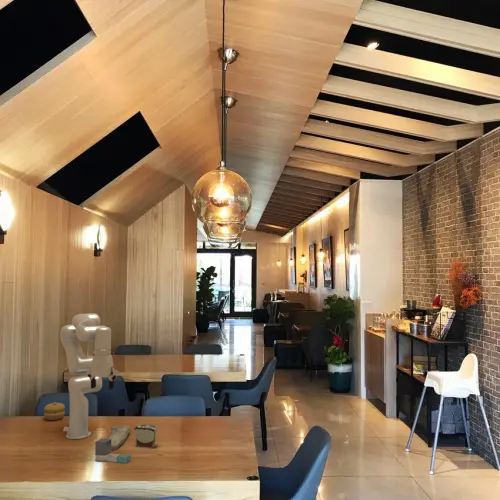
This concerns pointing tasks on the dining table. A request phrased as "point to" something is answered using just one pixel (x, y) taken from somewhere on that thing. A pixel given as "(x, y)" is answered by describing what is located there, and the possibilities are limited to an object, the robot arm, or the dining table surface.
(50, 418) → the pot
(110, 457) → the ratchet
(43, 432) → the dining table surface
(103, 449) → the brushed metal cube
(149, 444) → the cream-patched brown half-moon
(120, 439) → the elongated rock
